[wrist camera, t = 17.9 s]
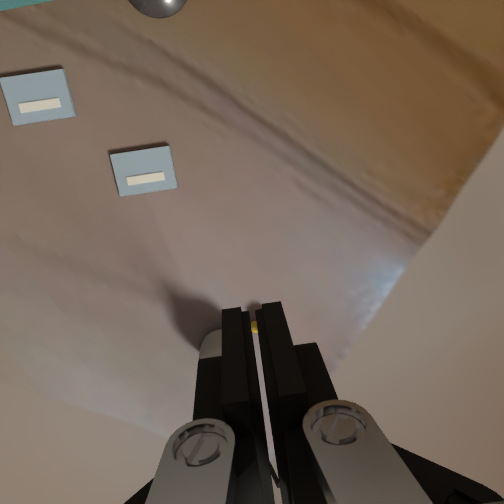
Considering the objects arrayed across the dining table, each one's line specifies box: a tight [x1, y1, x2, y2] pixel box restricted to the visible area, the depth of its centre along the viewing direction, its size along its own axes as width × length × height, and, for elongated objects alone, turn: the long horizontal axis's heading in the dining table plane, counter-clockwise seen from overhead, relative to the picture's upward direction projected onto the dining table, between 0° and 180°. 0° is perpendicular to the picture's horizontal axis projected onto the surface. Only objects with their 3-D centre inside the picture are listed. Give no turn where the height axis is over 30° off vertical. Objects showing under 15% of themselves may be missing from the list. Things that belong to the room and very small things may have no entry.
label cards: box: [0, 69, 178, 197], centre depth 35 cm, size 12×11×1 cm
